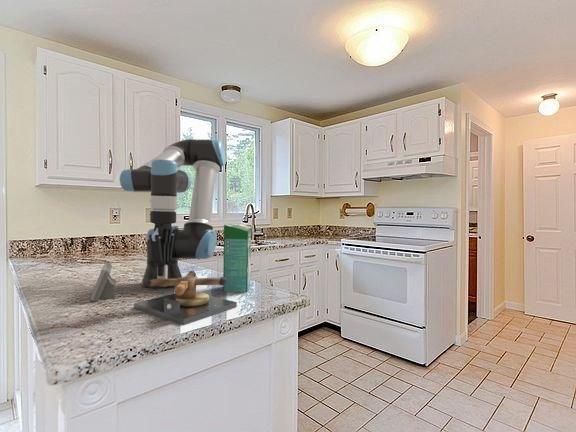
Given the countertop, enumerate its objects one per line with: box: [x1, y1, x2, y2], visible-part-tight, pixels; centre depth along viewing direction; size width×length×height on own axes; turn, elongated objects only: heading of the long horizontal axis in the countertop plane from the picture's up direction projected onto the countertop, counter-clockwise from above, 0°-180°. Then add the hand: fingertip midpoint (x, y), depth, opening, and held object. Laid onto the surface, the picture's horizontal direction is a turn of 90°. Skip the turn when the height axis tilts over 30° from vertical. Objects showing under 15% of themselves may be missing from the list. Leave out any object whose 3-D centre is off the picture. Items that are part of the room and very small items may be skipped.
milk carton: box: [222, 223, 252, 293], centre depth 125 cm, size 9×9×25 cm
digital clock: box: [90, 262, 117, 302], centre depth 112 cm, size 16×9×11 cm, turn 15°
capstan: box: [144, 270, 226, 306], centre depth 101 cm, size 25×25×8 cm
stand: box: [133, 293, 238, 326], centre depth 100 cm, size 24×21×6 cm
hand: (162, 285), depth 101 cm, fingers closed
